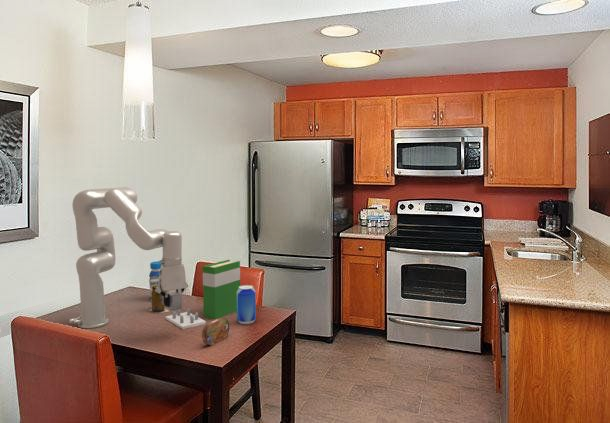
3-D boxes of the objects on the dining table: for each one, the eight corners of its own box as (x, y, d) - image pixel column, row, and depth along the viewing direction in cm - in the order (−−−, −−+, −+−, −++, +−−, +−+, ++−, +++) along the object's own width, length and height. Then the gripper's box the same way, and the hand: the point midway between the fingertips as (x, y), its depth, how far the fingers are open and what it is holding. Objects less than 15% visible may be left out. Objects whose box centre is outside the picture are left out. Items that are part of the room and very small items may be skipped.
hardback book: (229, 307, 232) (228, 259, 230) (240, 309, 229) (239, 261, 226) (203, 316, 218) (202, 266, 215) (215, 319, 214) (214, 267, 211)
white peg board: (182, 329, 201) (182, 319, 200) (165, 318, 214) (165, 310, 214) (205, 323, 208) (205, 314, 207) (187, 314, 221) (187, 305, 221)
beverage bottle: (170, 299, 246) (168, 261, 244) (157, 303, 239) (156, 264, 237) (159, 296, 251) (158, 260, 249) (146, 300, 244) (145, 262, 242)
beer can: (238, 325, 205) (237, 290, 204) (236, 319, 213) (235, 285, 212) (257, 323, 208) (256, 288, 206) (254, 318, 216) (253, 284, 214)
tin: (207, 348, 180) (206, 327, 179) (200, 346, 181) (200, 325, 181) (230, 335, 193) (229, 315, 193) (224, 334, 195) (223, 314, 194)
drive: (172, 310, 188) (172, 295, 187) (162, 304, 196) (162, 290, 195) (182, 309, 191) (182, 294, 190) (171, 302, 198) (171, 288, 198)
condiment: (162, 307, 232) (161, 283, 231) (169, 311, 226) (168, 287, 225) (148, 310, 228) (147, 286, 227) (154, 314, 221) (154, 289, 220)
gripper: (155, 265, 183) (156, 311, 185) (195, 261, 194) (194, 304, 196) (148, 262, 189) (148, 306, 191) (187, 257, 199) (187, 299, 201)
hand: (172, 304), depth 193 cm, fingers closed on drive, 4 cm apart
